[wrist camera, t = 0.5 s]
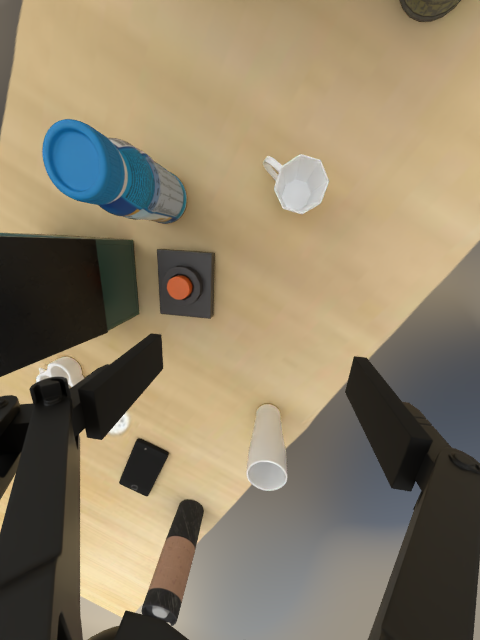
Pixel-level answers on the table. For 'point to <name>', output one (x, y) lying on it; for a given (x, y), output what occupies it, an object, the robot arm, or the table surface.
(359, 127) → the table surface
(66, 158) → the beverage bottle
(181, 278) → the button
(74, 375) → the white holed block
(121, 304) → the green box
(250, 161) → the table surface
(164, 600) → the travel mug
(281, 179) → the cup
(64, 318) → the box lid
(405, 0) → the thermos
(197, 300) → the control pad
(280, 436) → the drinking glass
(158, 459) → the cell phone
